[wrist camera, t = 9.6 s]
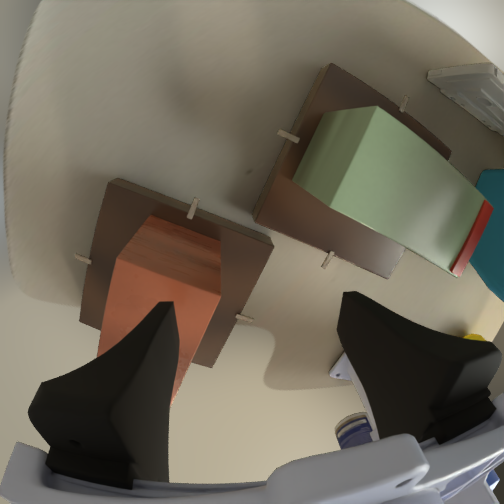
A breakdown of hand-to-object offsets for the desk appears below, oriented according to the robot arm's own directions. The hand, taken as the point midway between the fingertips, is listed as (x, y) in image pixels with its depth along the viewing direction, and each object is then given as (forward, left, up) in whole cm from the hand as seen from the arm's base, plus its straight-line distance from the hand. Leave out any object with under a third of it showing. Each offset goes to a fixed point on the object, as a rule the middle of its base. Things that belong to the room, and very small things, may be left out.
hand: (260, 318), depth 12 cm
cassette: (-14, -20, -11) cm, 26 cm away
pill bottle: (-24, +18, -11) cm, 32 cm away
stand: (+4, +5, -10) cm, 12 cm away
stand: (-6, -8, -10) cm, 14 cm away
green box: (-6, -8, -8) cm, 13 cm away
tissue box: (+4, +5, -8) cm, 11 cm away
